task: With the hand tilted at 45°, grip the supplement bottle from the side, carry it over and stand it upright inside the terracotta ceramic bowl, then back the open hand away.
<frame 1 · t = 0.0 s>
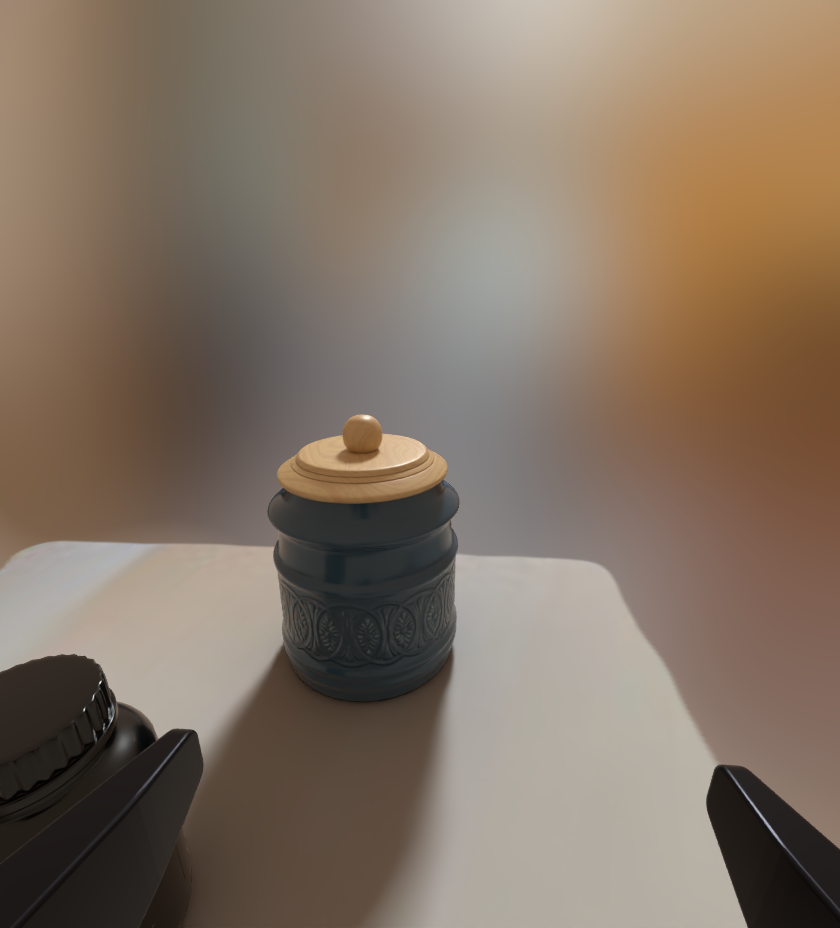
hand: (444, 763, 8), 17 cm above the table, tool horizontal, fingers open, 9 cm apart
canister: (372, 640, 35), on the table
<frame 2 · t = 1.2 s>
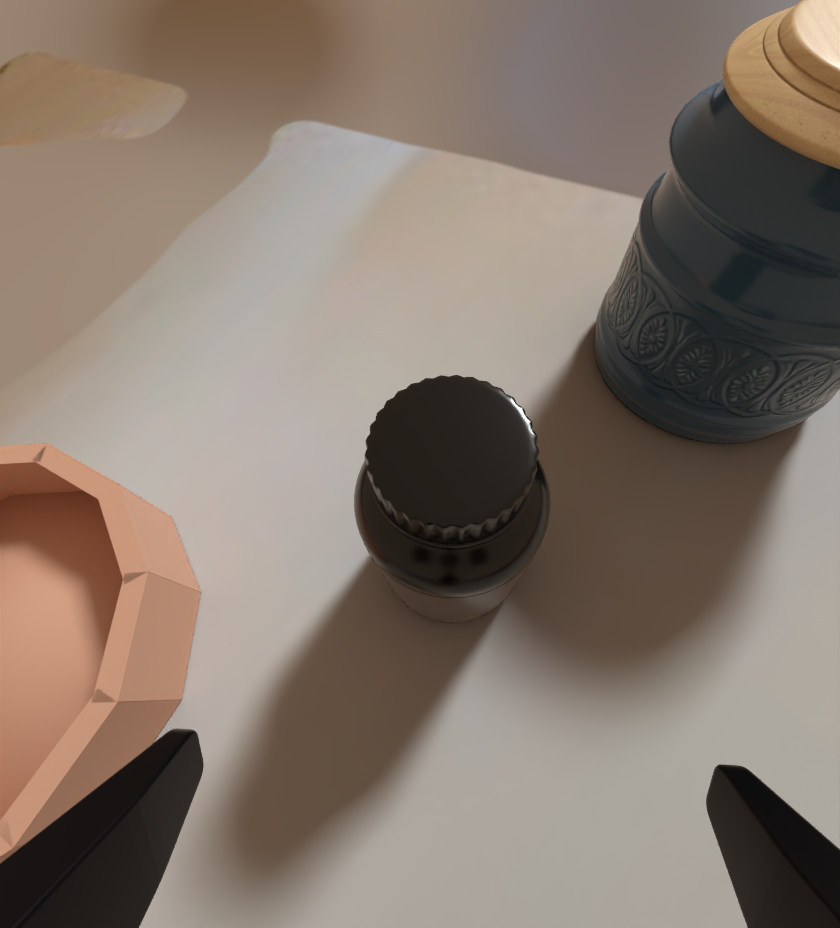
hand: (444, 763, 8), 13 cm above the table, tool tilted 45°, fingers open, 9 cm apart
canister: (695, 359, 28), on the table
supplement bottle: (450, 557, 23), on the table
terracotta bowl: (11, 651, 22), on the table
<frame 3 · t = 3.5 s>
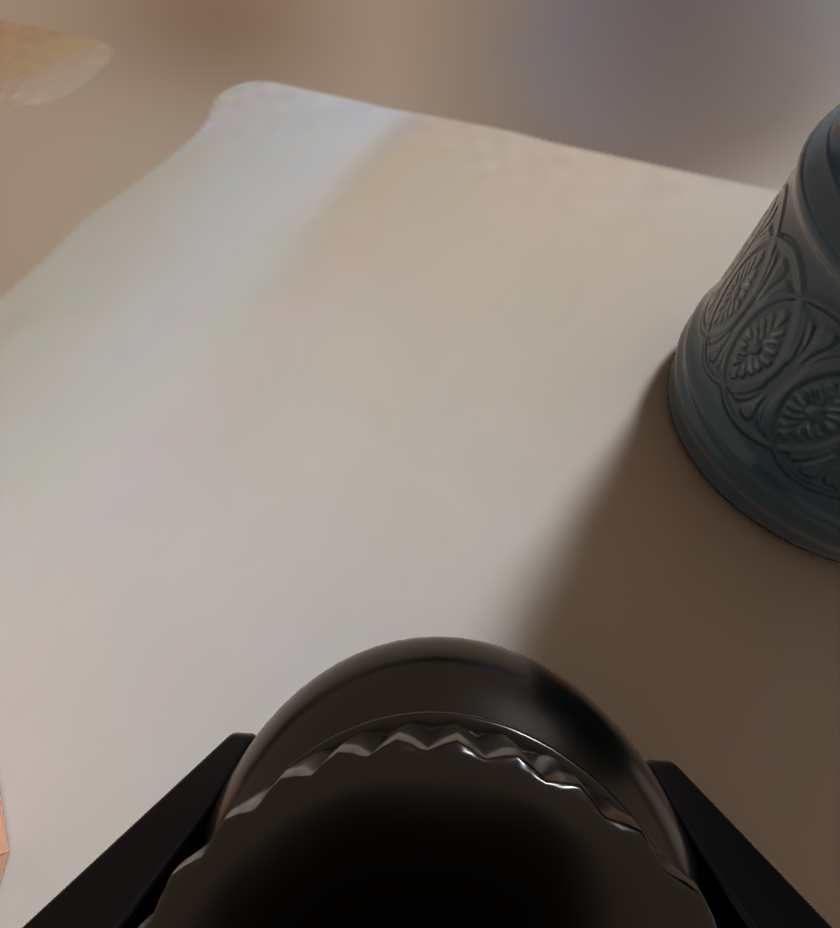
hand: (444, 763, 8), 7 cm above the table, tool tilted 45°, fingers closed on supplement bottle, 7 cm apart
canister: (827, 419, 18), on the table
supplement bottle: (445, 784, 13), on the table, touching gripper
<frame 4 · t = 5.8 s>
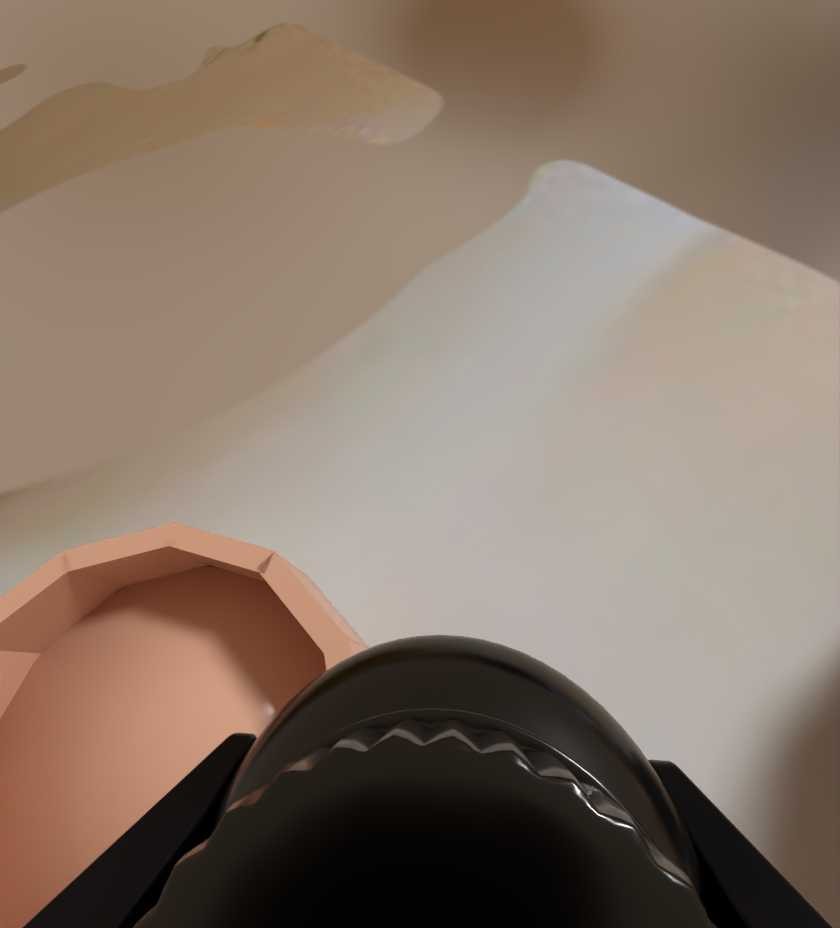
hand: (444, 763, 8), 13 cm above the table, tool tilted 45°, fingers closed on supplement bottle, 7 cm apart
supplement bottle: (451, 782, 13), point 6 cm above the table, touching gripper
terracotta bowl: (177, 759, 20), on the table
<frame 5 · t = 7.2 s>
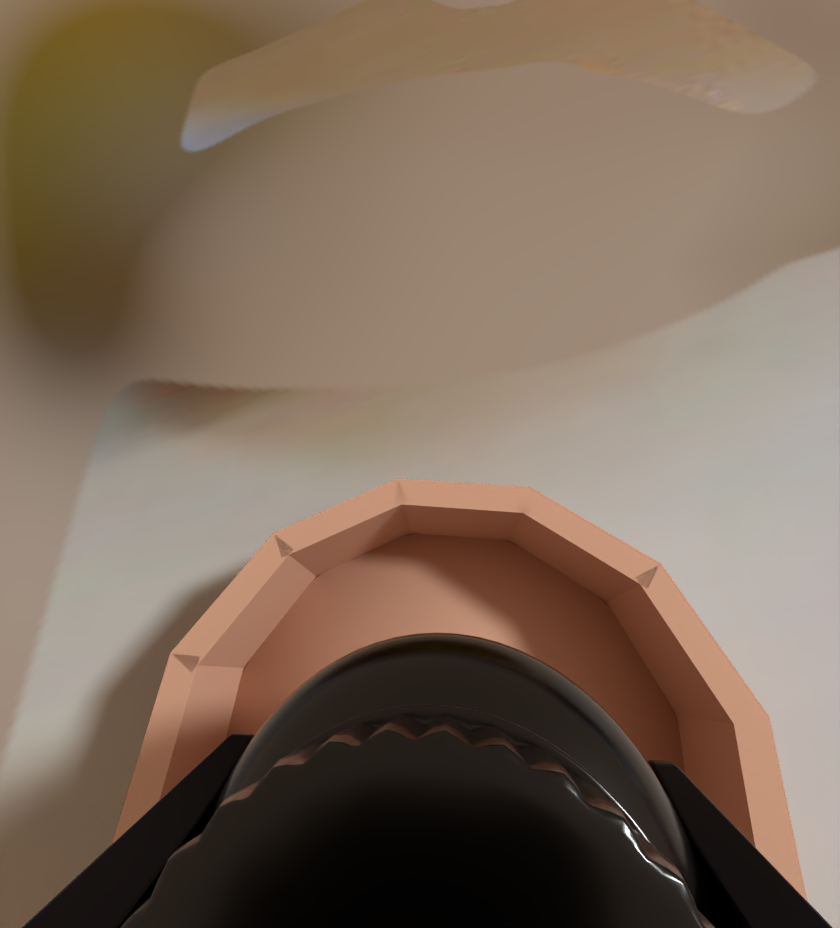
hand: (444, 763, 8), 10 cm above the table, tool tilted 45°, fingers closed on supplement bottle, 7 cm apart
supplement bottle: (451, 781, 13), point 3 cm above the table, touching gripper
terracotta bowl: (446, 754, 17), on the table
when the fingers open (9 cm above the table, at t = 8.1 s): supplement bottle stays where it is, resting on terracotta bowl.
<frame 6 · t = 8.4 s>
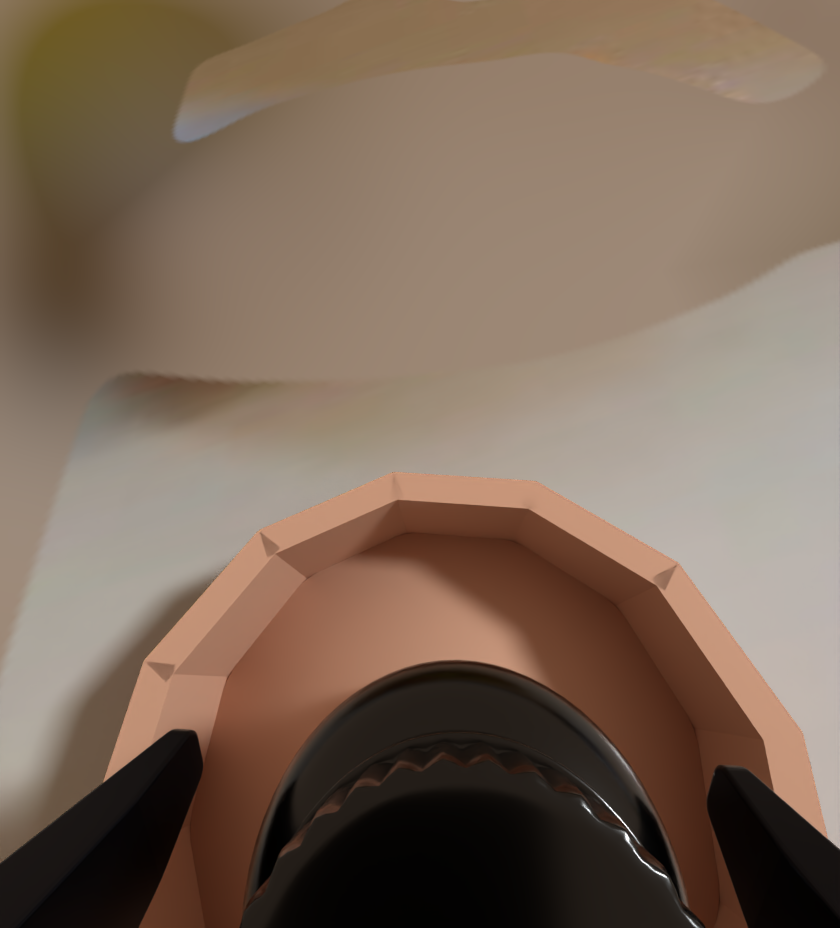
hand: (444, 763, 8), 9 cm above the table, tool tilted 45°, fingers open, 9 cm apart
supplement bottle: (453, 785, 14), point 1 cm above the table, touching terracotta bowl
terracotta bowl: (445, 771, 15), on the table
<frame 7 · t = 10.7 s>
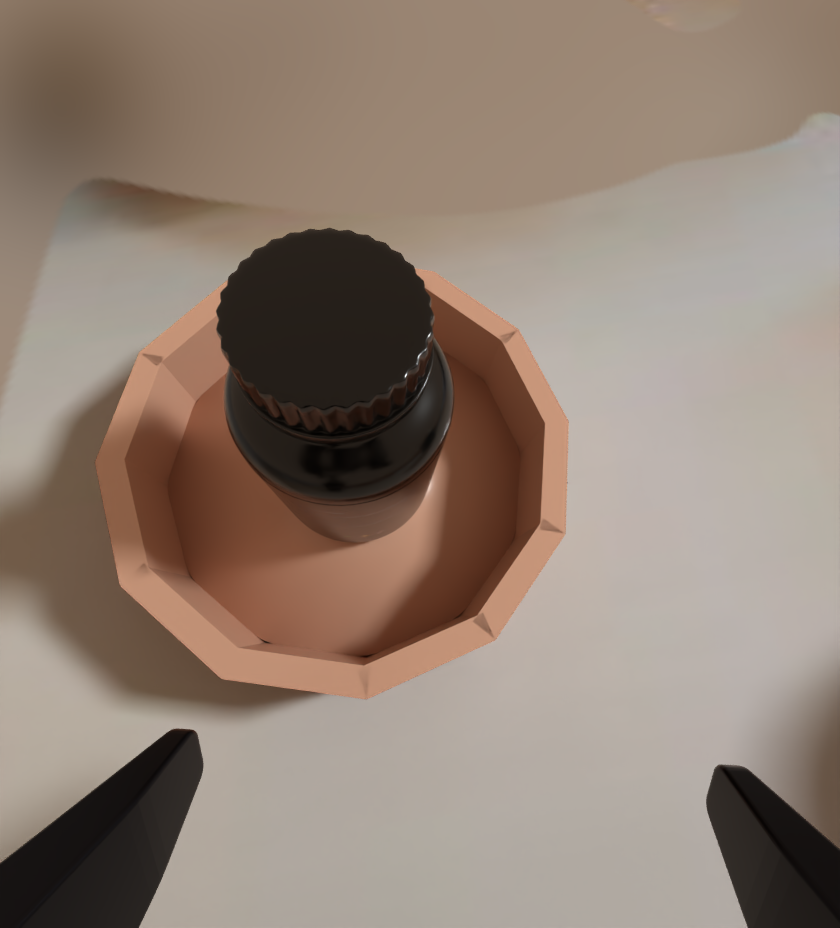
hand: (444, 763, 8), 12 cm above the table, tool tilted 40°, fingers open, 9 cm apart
supplement bottle: (356, 475, 21), point 1 cm above the table, touching terracotta bowl
terracotta bowl: (352, 474, 22), on the table
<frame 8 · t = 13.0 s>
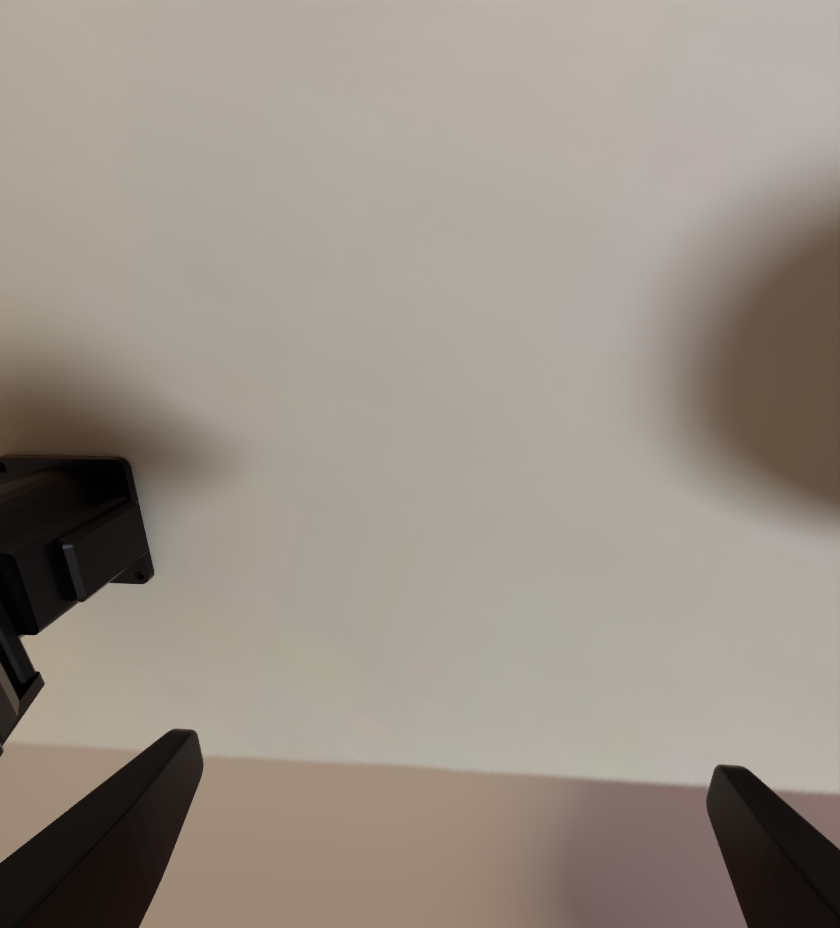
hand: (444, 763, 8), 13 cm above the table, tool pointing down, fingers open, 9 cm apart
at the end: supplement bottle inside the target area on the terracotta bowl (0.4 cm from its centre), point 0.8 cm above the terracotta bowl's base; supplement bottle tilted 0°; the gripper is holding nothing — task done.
